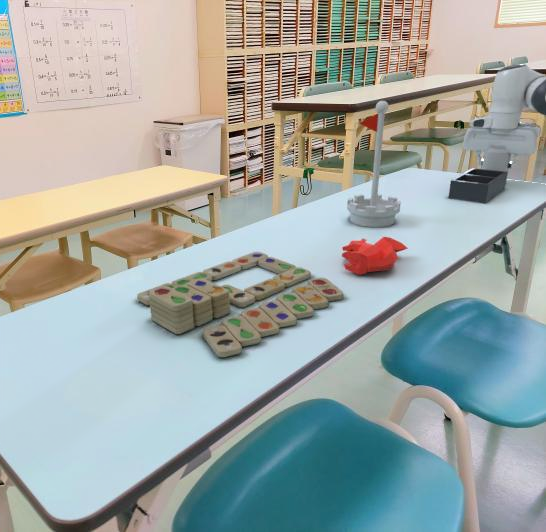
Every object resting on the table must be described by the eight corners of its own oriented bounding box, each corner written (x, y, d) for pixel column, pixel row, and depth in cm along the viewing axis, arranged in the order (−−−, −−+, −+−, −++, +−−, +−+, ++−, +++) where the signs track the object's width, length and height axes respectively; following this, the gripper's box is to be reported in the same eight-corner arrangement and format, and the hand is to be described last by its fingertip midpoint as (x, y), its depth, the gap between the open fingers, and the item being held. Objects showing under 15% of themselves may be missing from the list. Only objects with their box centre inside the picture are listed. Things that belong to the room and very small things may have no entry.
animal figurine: (414, 259, 110) (417, 237, 108) (381, 282, 100) (384, 257, 99) (364, 247, 118) (366, 226, 116) (329, 267, 108) (330, 245, 106)
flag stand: (389, 212, 142) (401, 97, 130) (405, 227, 130) (420, 102, 118) (341, 213, 142) (348, 99, 131) (352, 229, 130) (362, 104, 119)
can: (481, 185, 164) (487, 146, 159) (477, 179, 170) (483, 142, 166) (508, 186, 162) (515, 147, 157) (502, 180, 168) (509, 143, 164)
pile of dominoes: (222, 364, 76) (221, 331, 74) (123, 305, 96) (120, 277, 94) (360, 292, 97) (362, 264, 95) (255, 255, 116) (255, 231, 114)
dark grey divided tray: (504, 188, 159) (508, 171, 157) (485, 203, 146) (488, 184, 144) (469, 184, 165) (472, 168, 163) (448, 198, 152) (450, 180, 150)
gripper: (544, 122, 154) (535, 168, 159) (471, 118, 167) (464, 161, 172) (539, 124, 150) (530, 172, 155) (464, 121, 163) (458, 164, 168)
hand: (494, 166), depth 164 cm, fingers closed on can, 7 cm apart
